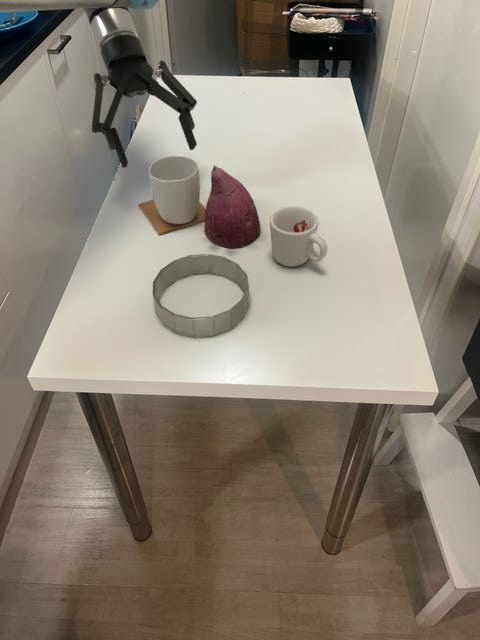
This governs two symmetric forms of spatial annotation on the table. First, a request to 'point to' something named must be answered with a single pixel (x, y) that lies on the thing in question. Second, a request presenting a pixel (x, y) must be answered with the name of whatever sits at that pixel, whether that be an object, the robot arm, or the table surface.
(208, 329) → the ring
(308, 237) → the cup
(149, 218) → the mat
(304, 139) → the table surface
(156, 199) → the mug
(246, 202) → the vegetable
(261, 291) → the table surface
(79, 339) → the table surface
